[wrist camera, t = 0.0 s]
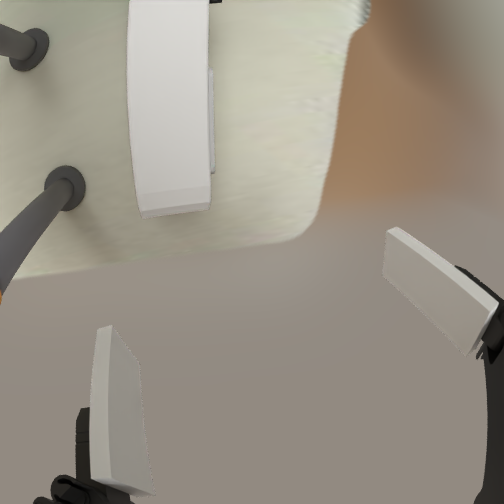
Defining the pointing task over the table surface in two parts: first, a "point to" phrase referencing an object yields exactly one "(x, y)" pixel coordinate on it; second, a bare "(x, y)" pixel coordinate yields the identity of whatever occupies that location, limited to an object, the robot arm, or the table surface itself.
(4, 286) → the cable post
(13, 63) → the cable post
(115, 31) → the table surface
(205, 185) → the rounded white slab
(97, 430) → the robot arm
